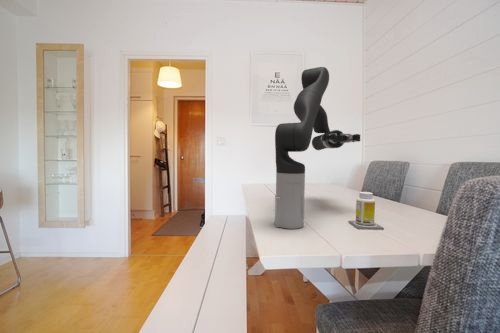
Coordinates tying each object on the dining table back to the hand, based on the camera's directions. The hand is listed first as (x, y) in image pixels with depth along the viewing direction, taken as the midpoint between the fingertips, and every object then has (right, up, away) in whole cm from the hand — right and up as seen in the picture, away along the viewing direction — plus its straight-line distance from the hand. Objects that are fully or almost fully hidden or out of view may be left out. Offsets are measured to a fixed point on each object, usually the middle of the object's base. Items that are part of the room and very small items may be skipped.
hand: (346, 136), depth 93 cm
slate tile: (+2, -31, -10) cm, 32 cm away
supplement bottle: (+2, -30, -10) cm, 31 cm away
